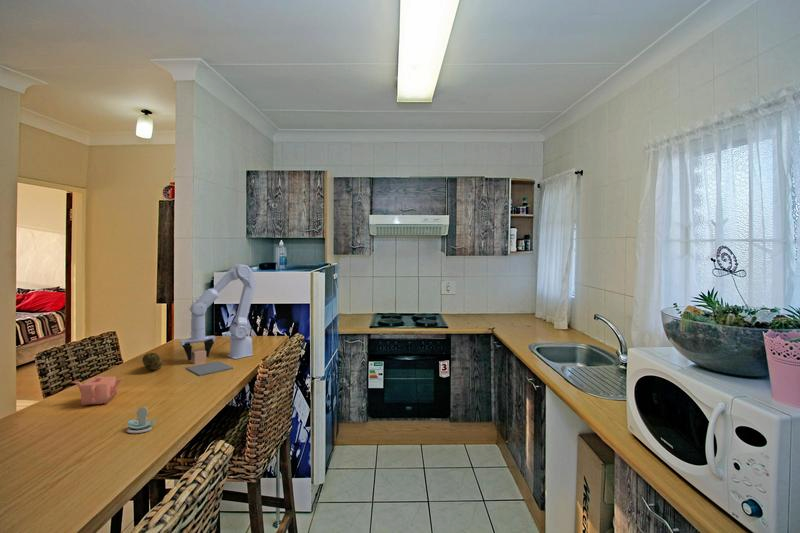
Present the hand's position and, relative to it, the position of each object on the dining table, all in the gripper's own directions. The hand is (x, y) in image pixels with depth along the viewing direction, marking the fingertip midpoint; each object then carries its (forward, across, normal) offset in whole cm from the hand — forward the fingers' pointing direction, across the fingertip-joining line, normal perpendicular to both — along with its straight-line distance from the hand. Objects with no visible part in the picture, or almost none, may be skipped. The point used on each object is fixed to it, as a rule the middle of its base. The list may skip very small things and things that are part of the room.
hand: (198, 358), depth 185 cm
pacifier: (+2, +39, +57) cm, 69 cm away
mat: (+2, +1, +14) cm, 14 cm away
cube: (+2, 0, 0) cm, 2 cm away
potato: (+2, +18, -1) cm, 18 cm away
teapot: (+2, +42, +24) cm, 48 cm away
